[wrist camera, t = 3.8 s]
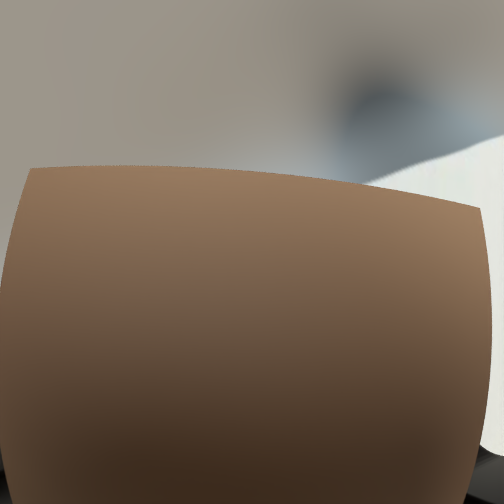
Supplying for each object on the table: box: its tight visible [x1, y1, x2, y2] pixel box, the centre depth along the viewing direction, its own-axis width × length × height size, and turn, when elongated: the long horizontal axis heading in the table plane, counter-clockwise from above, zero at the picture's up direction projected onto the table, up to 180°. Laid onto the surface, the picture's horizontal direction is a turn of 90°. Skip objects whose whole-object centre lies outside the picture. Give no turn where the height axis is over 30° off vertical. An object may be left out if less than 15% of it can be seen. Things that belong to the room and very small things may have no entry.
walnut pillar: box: [0, 166, 492, 504], centre depth 8 cm, size 5×5×13 cm
